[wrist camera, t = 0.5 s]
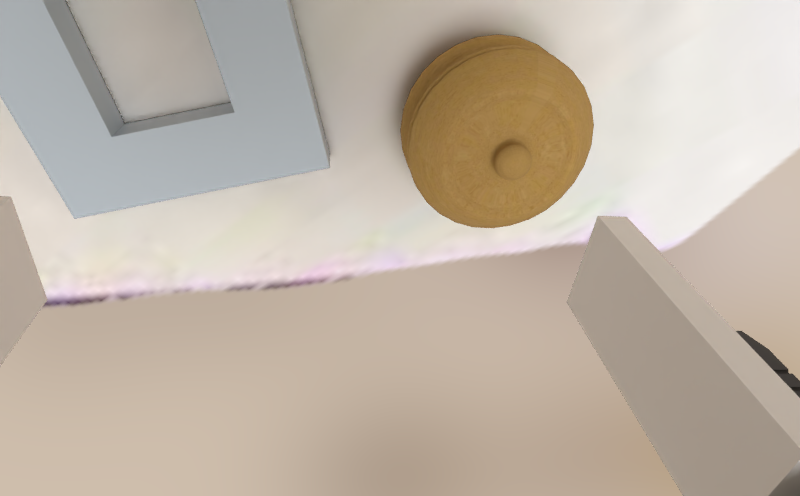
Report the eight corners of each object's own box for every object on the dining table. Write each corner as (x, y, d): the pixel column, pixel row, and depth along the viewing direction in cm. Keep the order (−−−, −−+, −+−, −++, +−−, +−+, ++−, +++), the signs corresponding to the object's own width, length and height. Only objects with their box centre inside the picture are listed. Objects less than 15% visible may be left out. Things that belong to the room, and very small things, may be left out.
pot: (367, 149, 38) (378, 215, 29) (444, -9, 33) (485, 16, 24) (498, 205, 42) (540, 277, 33) (585, 71, 36) (661, 117, 28)
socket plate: (-105, -135, 26) (-142, -139, 24) (238, -201, 26) (230, -211, 24) (88, 202, 37) (74, 218, 35) (329, 153, 38) (329, 167, 35)
